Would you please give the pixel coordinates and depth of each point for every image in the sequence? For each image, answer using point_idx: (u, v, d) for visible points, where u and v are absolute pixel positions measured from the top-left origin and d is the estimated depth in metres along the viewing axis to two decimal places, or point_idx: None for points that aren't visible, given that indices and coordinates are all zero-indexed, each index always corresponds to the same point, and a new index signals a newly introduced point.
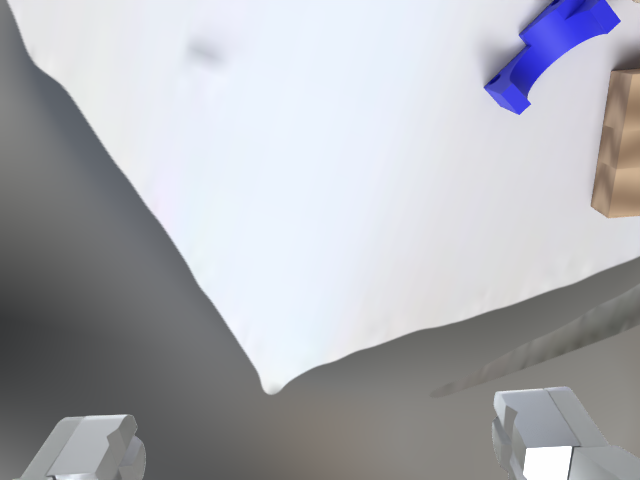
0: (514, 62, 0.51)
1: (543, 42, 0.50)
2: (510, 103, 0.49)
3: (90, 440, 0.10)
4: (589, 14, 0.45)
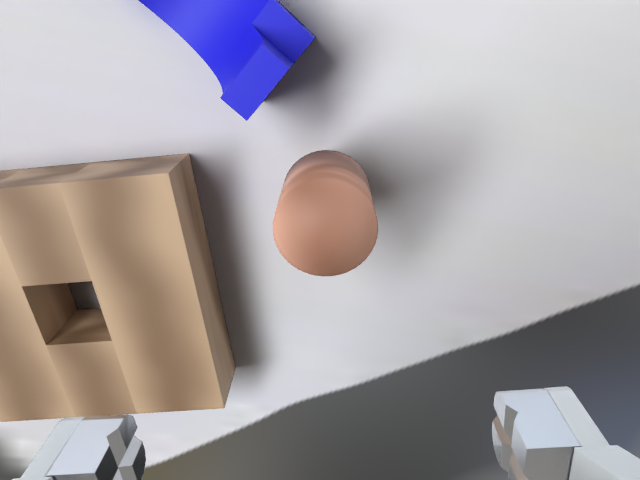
0: None
1: None
2: None
3: (90, 440, 0.10)
4: (256, 51, 0.21)
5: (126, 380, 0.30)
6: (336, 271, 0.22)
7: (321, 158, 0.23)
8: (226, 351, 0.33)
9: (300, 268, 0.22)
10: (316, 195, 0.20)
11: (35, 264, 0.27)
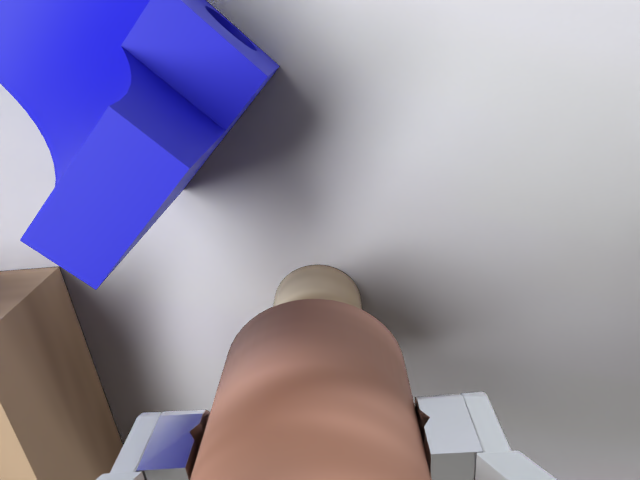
0: None
1: None
2: None
3: (173, 435, 0.10)
4: (103, 122, 0.08)
5: None
6: None
7: (303, 338, 0.10)
8: None
9: None
10: None
11: None
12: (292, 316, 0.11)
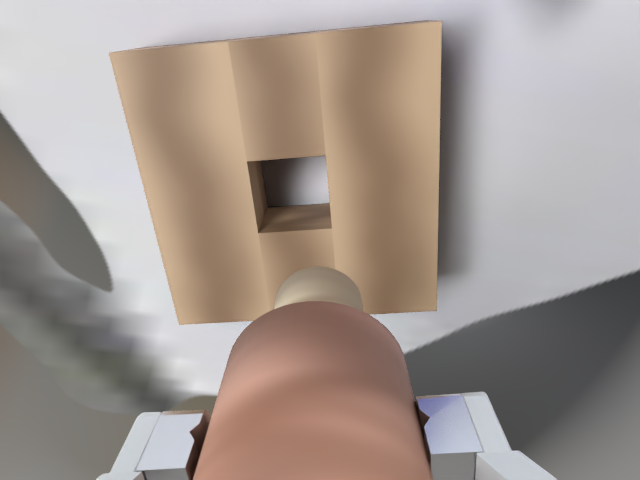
0: None
1: None
2: None
3: (173, 435, 0.10)
4: None
5: None
6: None
7: (304, 341, 0.10)
8: None
9: None
10: None
11: (267, 134, 0.25)
12: (294, 318, 0.11)
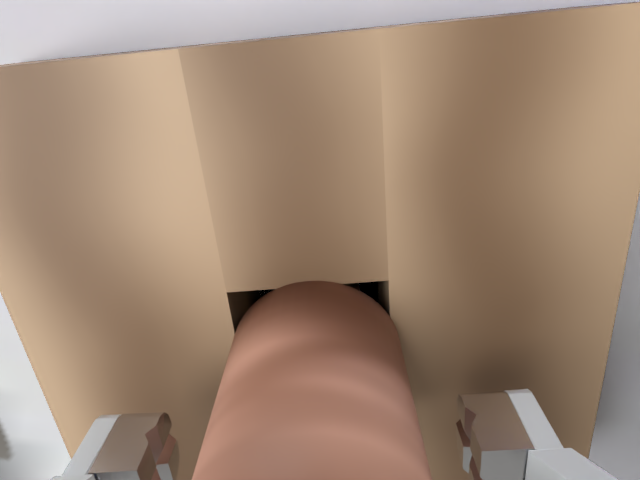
0: None
1: None
2: None
3: (129, 438, 0.10)
4: None
5: None
6: None
7: (305, 314, 0.11)
8: None
9: None
10: (288, 464, 0.08)
11: (269, 242, 0.12)
12: (295, 296, 0.12)
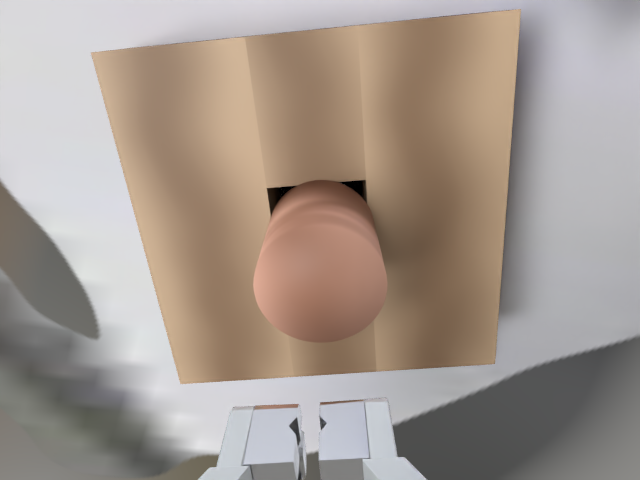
0: None
1: None
2: None
3: (273, 429, 0.10)
4: None
5: (373, 326, 0.23)
6: (334, 337, 0.17)
7: (316, 192, 0.18)
8: None
9: (288, 333, 0.17)
10: (309, 245, 0.16)
11: (294, 154, 0.19)
12: (309, 186, 0.19)
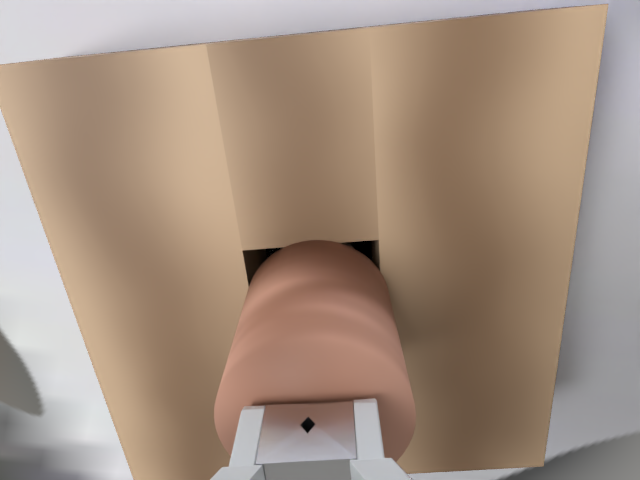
0: None
1: None
2: None
3: (285, 429, 0.09)
4: None
5: None
6: None
7: (309, 263, 0.13)
8: None
9: None
10: (297, 365, 0.10)
11: (279, 206, 0.14)
12: (300, 251, 0.14)
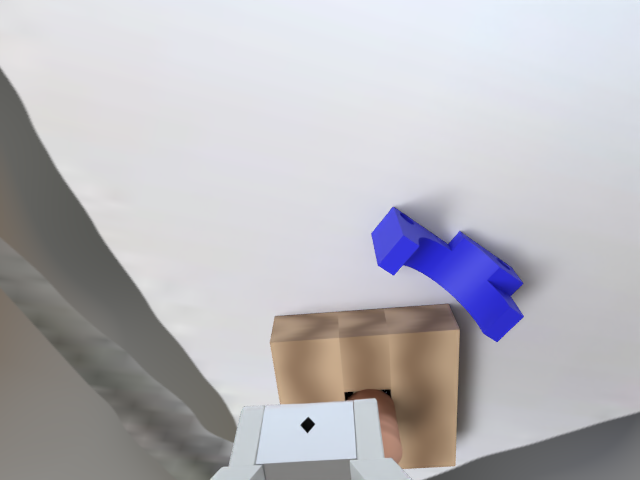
0: (430, 236, 0.39)
1: (456, 263, 0.40)
2: (392, 250, 0.35)
3: (284, 429, 0.09)
4: (503, 307, 0.37)
5: None
6: None
7: None
8: None
9: None
10: None
11: (357, 379, 0.42)
12: (365, 394, 0.42)
